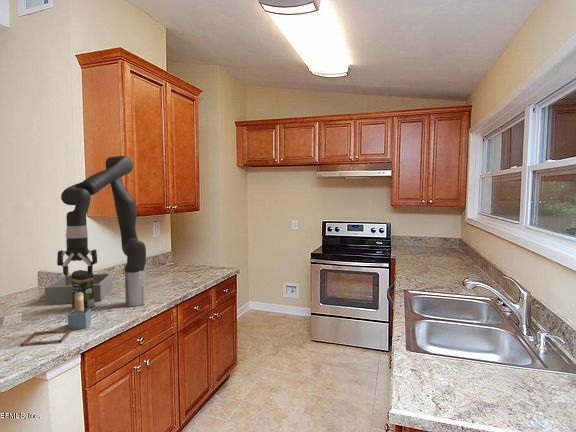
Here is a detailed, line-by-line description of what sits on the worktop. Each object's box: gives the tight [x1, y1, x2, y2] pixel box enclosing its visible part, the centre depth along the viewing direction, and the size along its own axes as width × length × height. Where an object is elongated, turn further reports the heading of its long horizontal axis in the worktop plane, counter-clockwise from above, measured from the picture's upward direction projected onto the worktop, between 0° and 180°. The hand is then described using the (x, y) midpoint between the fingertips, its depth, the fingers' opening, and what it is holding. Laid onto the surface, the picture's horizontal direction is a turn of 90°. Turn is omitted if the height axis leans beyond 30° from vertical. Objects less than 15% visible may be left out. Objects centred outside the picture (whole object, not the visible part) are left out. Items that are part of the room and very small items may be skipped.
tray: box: [20, 328, 73, 347], centre depth 132 cm, size 13×11×2 cm
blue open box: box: [67, 307, 92, 331], centre depth 144 cm, size 7×7×7 cm
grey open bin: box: [44, 273, 114, 306], centre depth 188 cm, size 25×25×9 cm
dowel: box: [74, 292, 84, 314], centre depth 144 cm, size 3×3×14 cm
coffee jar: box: [71, 269, 95, 309], centre depth 169 cm, size 10×8×19 cm
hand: (78, 274), depth 143 cm, fingers open, 8 cm apart
